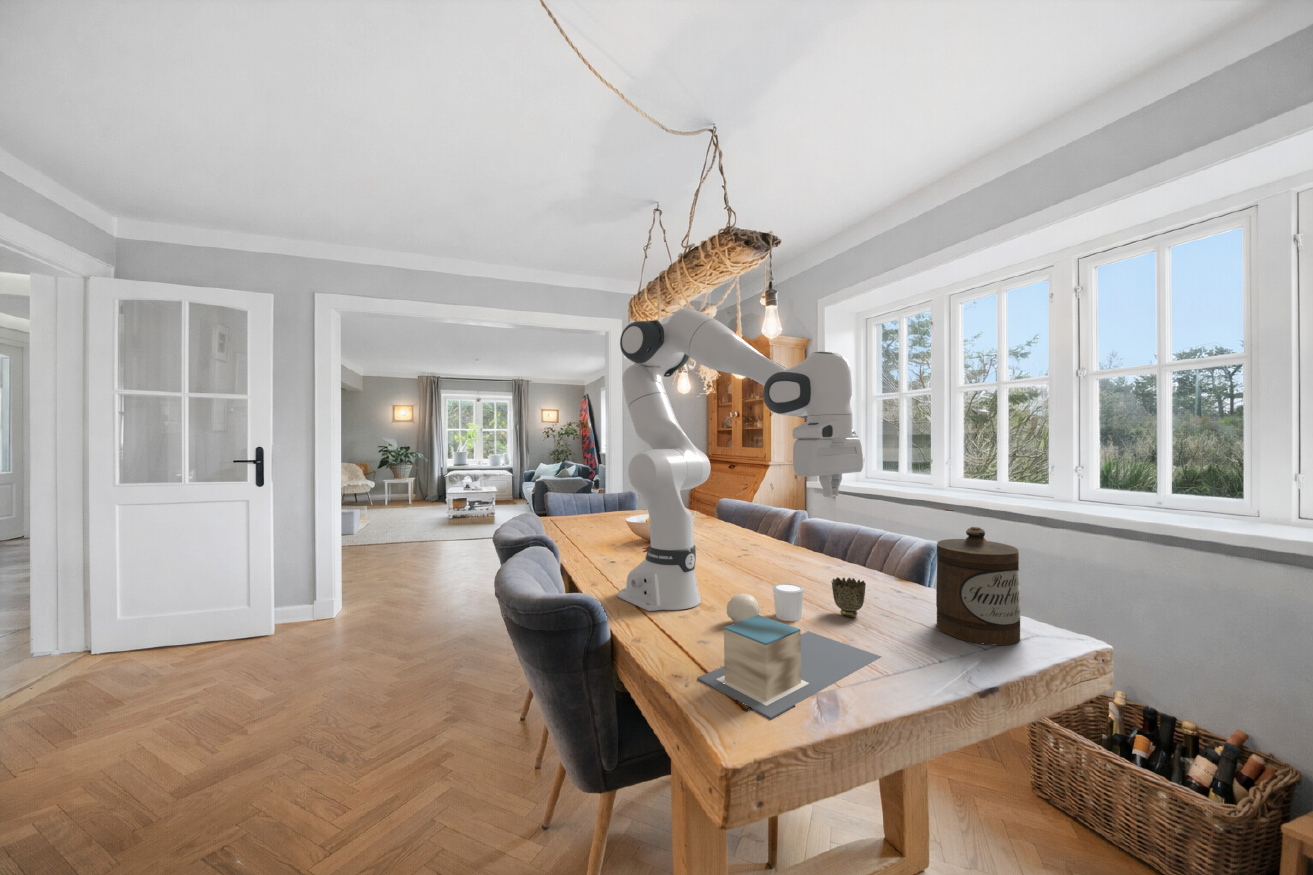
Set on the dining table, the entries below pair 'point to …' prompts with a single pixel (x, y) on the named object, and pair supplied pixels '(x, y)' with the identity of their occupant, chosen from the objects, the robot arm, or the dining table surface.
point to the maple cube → (762, 656)
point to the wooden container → (978, 589)
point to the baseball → (742, 607)
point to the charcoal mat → (818, 671)
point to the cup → (848, 595)
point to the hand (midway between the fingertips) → (830, 496)
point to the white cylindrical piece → (788, 601)
